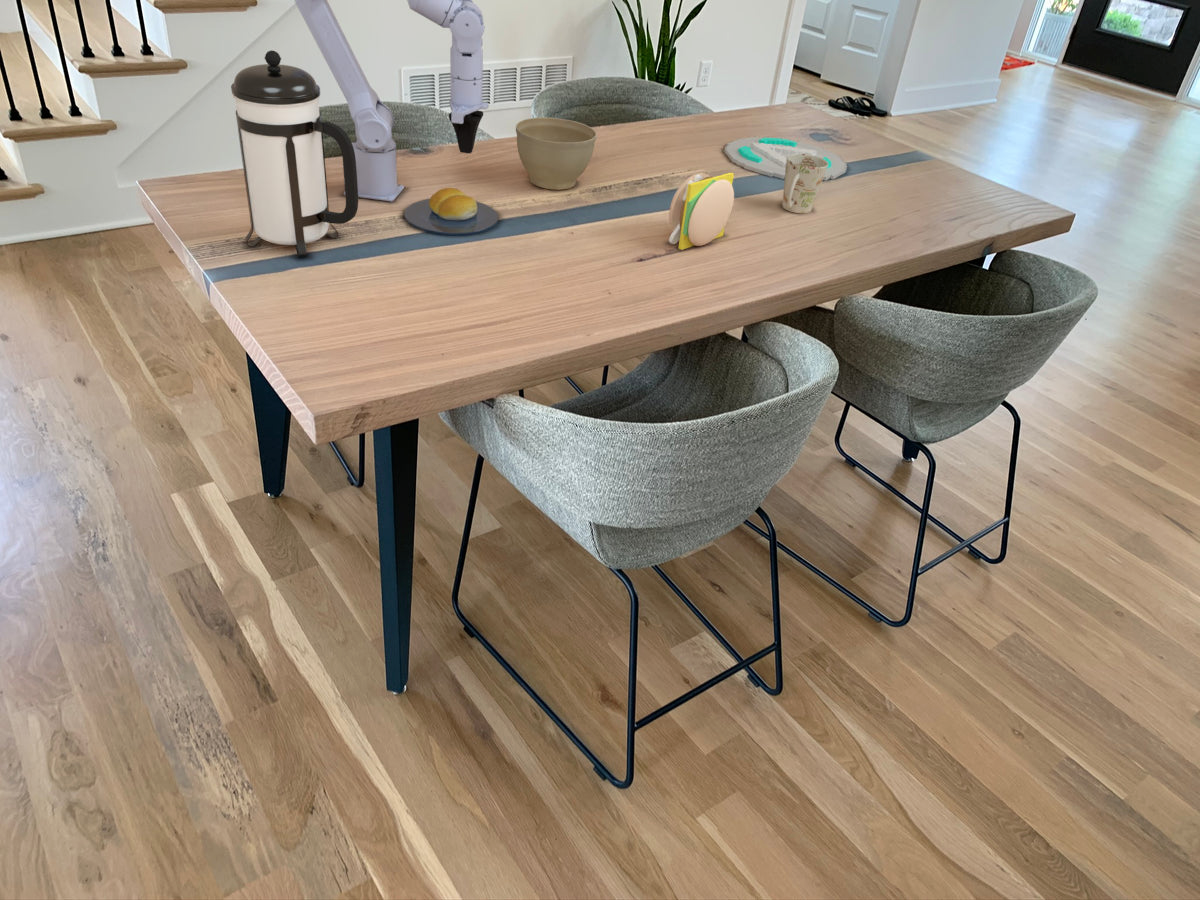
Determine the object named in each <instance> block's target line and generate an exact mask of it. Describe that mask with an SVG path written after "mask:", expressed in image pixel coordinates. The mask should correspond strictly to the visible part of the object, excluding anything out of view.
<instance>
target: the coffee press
mask: <svg viewBox="0 0 1200 900" xmlns="http://www.w3.org/2000/svg"><path fill="white" fill-rule="evenodd" d="M264 60H265V62H266V63H264V64H256V65H255V64H254V65H251V66H247V67H245V68H243V69H241V70H240V71H239V72H238V73H236V74H235V75H236V76H234V81H233V83H232V84H231V86H230V91H231V94H232V95H231V96H232V98H233V99H234V100H235V105H236V110H235V118H236V119H235V120H236V123H237V124H236V125H237V133H238V140H239V147H240V154H241V162H242V163H241V164H242V170H243V177H244V183H245V190H246V198H247V206H248V214H249V223H250V229H249V231H248V233H247V235H246V236H245V238H244V240H245V242H246V245H247V246H248V247H249V248H253V247H255V246H256V245H258V244H259V242H261V241H266V242H268V243H272V244H275V245H281V246H294V247H295V251H296V254H297V258H298V259H301V258H302V259H303V258H307V257H308V250H307V246H306V245H307V244H311V243H313V242H317V241H318V240H320V239H321V238H324V236H325V235H326V236H328V237H329V238H331V239H336V238H337V237H338V236H339V232H338V230H337V228H336V227H335V226H334V225H343V224H347V223H349V222H350V221H351V220H353V219H354V218H355V216H356V214H357V212H358V209H359V197H358V184H357V169H356V159H355V152H354V148H353V145H352V143H353V142H352V140H351V139H350V136H349V135H348V134H347V132H346V131H345V130H344V129H343V128H342V127H340V125H338V124H335V123H333V122H330V121H328V120H327V121H322V112H321V110H320V102H319V99H320V96H321V87H320V85H318V84H317V83H316V80H315V78H314V77H313V76H312V75H311V73H309V72H307V71H306V70H304V69H302V68H299V67H296V66H292V65H287V64H281V60H282V57H281V55H280V54H279V52H277V51H275V50H268V51H267V52H266V54H265V55H264ZM324 135H326V136H329V137H331V138H332V139H333V140H334V141H335V142H336V143H337V145H338V146H339V148H340V152H341V156H342V157H341V158H342V169H344V171H343V181H344V183H345V184H344V192H345V195H344V196H345V197H344V198H345V206H344V210H343V211H342V212H335V211H330V206H329V195H328V181H327V171H326V157H325V147H324ZM330 226H331V228H332V229H333V230H334V233H333V234H331V233H328V231H329V227H330ZM254 233H255V234H256V235H257V237H256V238H255V239H254V240H253V241H252V242H249V240H250V238H251V237H252V235H253V234H254Z"/></svg>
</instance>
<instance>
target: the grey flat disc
mask: <svg viewBox="0 0 1200 900" xmlns="http://www.w3.org/2000/svg"><path fill="white" fill-rule="evenodd" d="M723 153H724V154H725V155H726V157H727V158H729V160H730V162H731V163H734V164H735V165H736V166H739V167H742V168H743V169H745V170H748V171H751V172H755V173H757V174H760V175H765V176H768V177H771V178H773V177H775V178H777V179H781V180H785V170H786V160H787V157H788V156H789V155H791V154H808V155H813V156H817V157H820V158H822V159H824V160H826V161H827V162H828V167H827V170H826V173H825V175H824V178H823V181H825V182H826V181H828V180H829V179H830V180H834V179H836V178H838V177H840V176H842V175H843V174H845V173H847V169H848V163H846V161H844V160H843V159H842V158H841V157H840V156H839V155H838V154H837V153H834V152H833V151H831V150H828V149H825V148H824V147H821V146H818V145H814V144H811V143H806V142H803V141H799V140H793V139H790V138H782V137H765V136H762V137H760V136H753V137H750V136H748V137H745V138H743V137H740V138H738V139H735V140H733V141H731V142H728V143H726V145H725V146H724V150H723Z"/></svg>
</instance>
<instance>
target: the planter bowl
mask: <svg viewBox="0 0 1200 900" xmlns="http://www.w3.org/2000/svg"><path fill="white" fill-rule="evenodd" d="M515 132H516V133H515V134H516V146H517V152H518V155H519V159H520V161H521V164H522V166H523V168H524V169H525V171H526V173H527V174H528V179H529V182H530V183H531V184H532V185H534V186H537V187H539V188H542V189H547V190H555V191H558V190H559V191H560V190H561V191H562V190H567V189H568V190H569V189H571V188H573V187H574V186H575V185H576V183H577V180H578V178H580V176H581V175H582V174H583V173H584V171H585V170H586V168H587V167H588V165H589V163H590V162H591V159H592V157H593V153H594V150H595V149H594V148H595V143H596V140H597V137H598V134H597V131H596V130H595V129H594V128H593V127H591V126H589V125H587V124H585V123H582V122H578V121H574V120H570V119H564V118H558V117H531V118H526V119H522V120H520V121H518V122H517V123H516V124H515Z"/></svg>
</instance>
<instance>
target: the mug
mask: <svg viewBox="0 0 1200 900" xmlns="http://www.w3.org/2000/svg"><path fill="white" fill-rule="evenodd" d="M827 167H828V162H827V161H826V160H824V159H822V158H820V157H817V156H813V155H808V154H791V155H789V156H788V157H787V160H786V170H785V178H784V183H783V184H784V185H783V194H782V203H781V204H782V205H781V206H782V208H783V209H784V210H786V211H788V212H791V213H795V214H809V213H811V211H812V209H813V207H814V204H815V202H816V199H817V196H818V194H819V192H820V189H821V186H822V183H823V181H824V180H823V178H824V175H825V173H826V170H827Z"/></svg>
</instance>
